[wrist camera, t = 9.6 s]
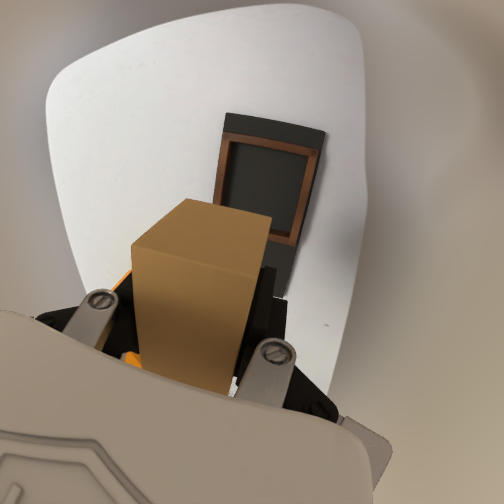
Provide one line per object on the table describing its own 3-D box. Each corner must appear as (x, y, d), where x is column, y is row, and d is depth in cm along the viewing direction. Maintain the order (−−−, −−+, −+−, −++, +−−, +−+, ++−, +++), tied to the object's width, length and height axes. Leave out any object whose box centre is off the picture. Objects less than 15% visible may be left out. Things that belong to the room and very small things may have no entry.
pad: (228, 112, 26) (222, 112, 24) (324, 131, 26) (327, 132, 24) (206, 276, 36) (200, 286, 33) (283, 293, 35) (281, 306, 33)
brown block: (177, 322, 15) (144, 386, 11) (186, 197, 11) (130, 244, 7) (242, 340, 14) (223, 410, 10) (272, 216, 11) (257, 277, 7)
